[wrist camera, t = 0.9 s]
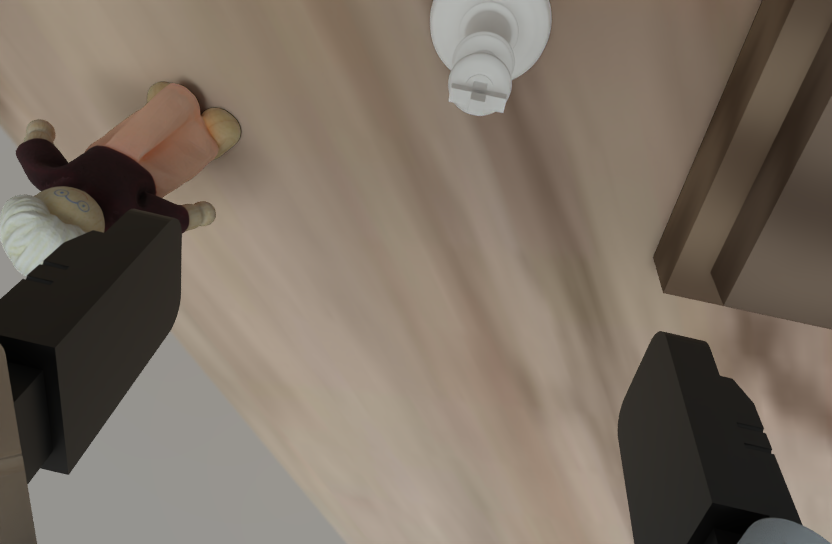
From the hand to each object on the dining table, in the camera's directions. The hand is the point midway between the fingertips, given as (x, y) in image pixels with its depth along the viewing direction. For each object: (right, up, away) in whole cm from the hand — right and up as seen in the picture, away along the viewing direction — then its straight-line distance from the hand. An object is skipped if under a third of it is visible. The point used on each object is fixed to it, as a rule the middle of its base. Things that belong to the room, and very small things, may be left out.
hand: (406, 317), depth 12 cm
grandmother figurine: (-11, +8, +21) cm, 25 cm away
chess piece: (+3, +11, +17) cm, 21 cm away
